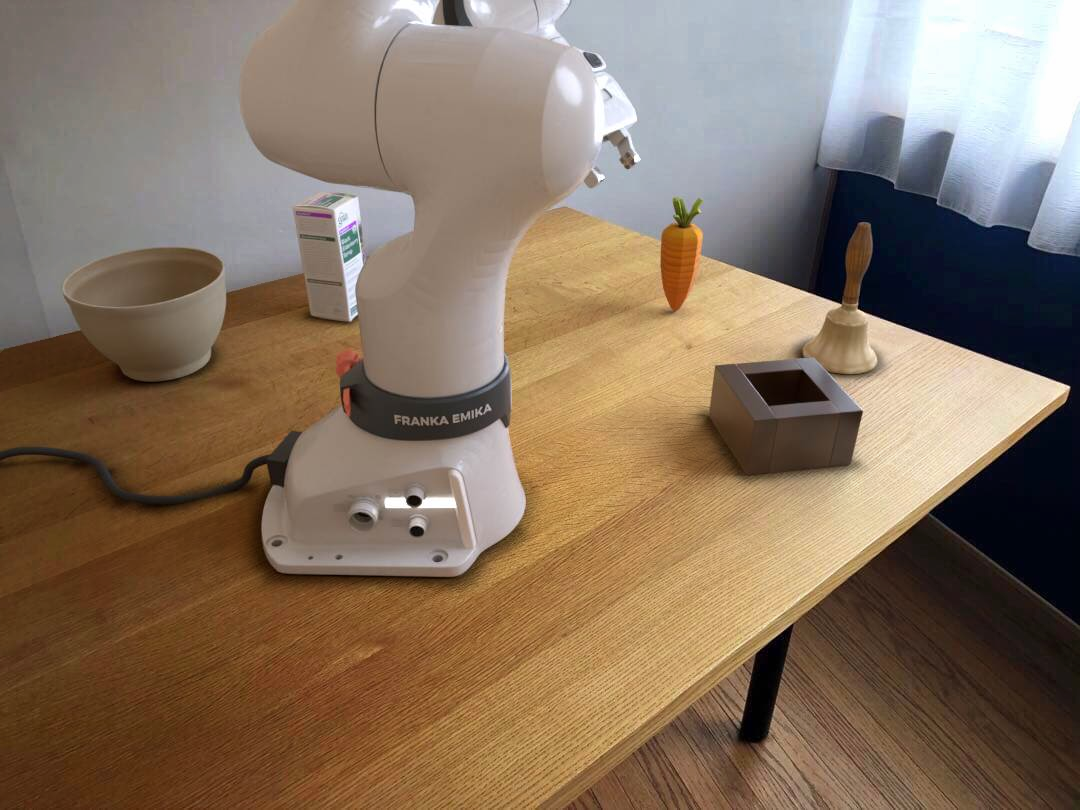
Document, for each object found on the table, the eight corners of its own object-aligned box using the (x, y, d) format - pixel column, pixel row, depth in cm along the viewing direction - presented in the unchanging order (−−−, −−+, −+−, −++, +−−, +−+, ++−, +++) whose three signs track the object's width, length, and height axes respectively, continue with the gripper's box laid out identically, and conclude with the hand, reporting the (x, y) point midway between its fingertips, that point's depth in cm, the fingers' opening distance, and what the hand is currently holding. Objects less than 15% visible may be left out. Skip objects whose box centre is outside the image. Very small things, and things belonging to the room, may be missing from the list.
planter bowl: (56, 389, 92) (25, 296, 87) (148, 324, 106) (126, 240, 100) (189, 408, 89) (166, 313, 83) (267, 339, 102) (251, 253, 97)
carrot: (693, 303, 112) (705, 190, 104) (695, 320, 107) (708, 203, 99) (655, 302, 112) (664, 188, 104) (655, 318, 108) (665, 201, 100)
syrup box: (350, 323, 106) (336, 209, 99) (308, 316, 108) (291, 203, 100) (372, 304, 111) (360, 194, 103) (331, 298, 112) (316, 189, 105)
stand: (745, 475, 79) (754, 420, 76) (708, 416, 88) (714, 364, 85) (850, 464, 81) (863, 410, 78) (803, 407, 90) (813, 356, 87)
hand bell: (822, 378, 95) (850, 240, 87) (790, 343, 102) (812, 213, 94) (891, 371, 96) (925, 235, 88) (854, 337, 103) (882, 209, 95)
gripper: (517, 79, 95) (591, 180, 96) (606, 52, 110) (670, 141, 111) (485, 115, 100) (556, 212, 100) (575, 85, 114) (636, 170, 115)
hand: (616, 174), depth 106 cm, fingers open, 8 cm apart
